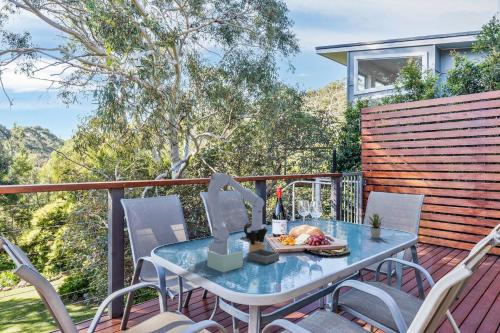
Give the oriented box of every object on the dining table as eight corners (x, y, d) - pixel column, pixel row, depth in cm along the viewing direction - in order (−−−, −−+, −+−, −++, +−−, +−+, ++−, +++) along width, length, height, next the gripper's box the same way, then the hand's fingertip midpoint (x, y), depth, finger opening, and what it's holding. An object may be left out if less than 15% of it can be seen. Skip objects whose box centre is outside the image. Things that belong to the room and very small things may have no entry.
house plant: (360, 234, 239) (360, 210, 238) (381, 234, 238) (381, 210, 238) (366, 239, 225) (366, 213, 224) (388, 239, 224) (388, 213, 224)
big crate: (266, 264, 172) (266, 257, 172) (247, 259, 180) (247, 252, 180) (279, 259, 180) (279, 252, 180) (260, 255, 188) (260, 248, 188)
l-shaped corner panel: (242, 266, 169) (242, 251, 168) (223, 272, 160) (223, 256, 160) (226, 261, 177) (226, 246, 177) (207, 266, 169) (207, 250, 169)
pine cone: (254, 242, 216) (254, 226, 216) (240, 236, 232) (240, 221, 232) (269, 240, 222) (269, 224, 221) (254, 234, 237) (254, 219, 237)
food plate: (295, 249, 198) (295, 243, 198) (321, 243, 213) (321, 237, 213) (331, 261, 179) (332, 254, 179) (357, 253, 194) (358, 247, 194)
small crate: (259, 254, 189) (259, 245, 189) (249, 252, 194) (249, 243, 193) (264, 252, 193) (264, 243, 193) (255, 250, 197) (255, 241, 197)
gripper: (254, 221, 184) (254, 247, 185) (271, 217, 195) (271, 242, 196) (244, 219, 189) (244, 244, 190) (261, 216, 200) (261, 240, 200)
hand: (257, 243), depth 193 cm, fingers open, 7 cm apart
